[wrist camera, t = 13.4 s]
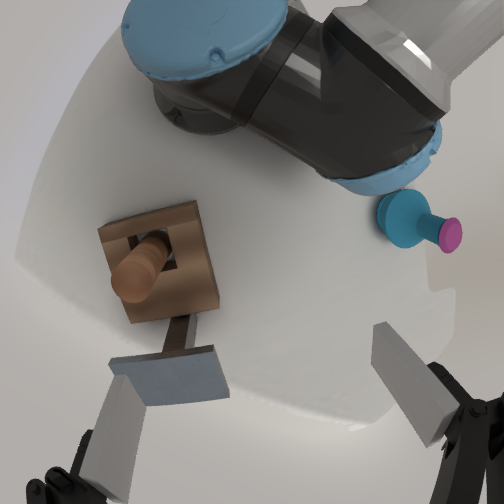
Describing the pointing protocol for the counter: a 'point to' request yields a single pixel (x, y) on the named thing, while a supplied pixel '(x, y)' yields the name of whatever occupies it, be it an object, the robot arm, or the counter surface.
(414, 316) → the counter surface
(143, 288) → the peg
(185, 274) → the socket board
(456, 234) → the perfume bottle
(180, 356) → the grey t-shaped block
